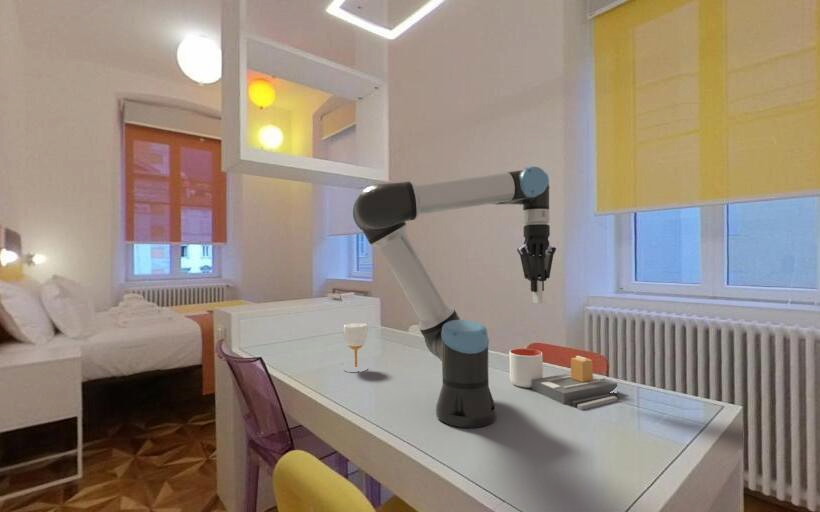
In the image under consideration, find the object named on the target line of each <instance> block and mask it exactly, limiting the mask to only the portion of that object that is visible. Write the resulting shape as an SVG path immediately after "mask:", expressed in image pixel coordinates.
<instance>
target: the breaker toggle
mask: <svg viewBox="0 0 820 512" xmlns="http://www.w3.org/2000/svg"><path fill="white" fill-rule="evenodd" d="M593 369H594V368H593V360H592V359H590V358H587V357H584V356H581V355H576V356H575V357H571V358H570V373H571V378H572V379H575V380H578V381H580V382H587V381H592V380H593V373H594V371H593Z"/></svg>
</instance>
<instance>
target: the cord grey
mask: <svg viewBox="0 0 820 512" xmlns="http://www.w3.org/2000/svg"><path fill="white" fill-rule="evenodd" d="M615 402H618V398H617V397H615V396H611V397H606V398H602V399H598V400H594V401H590V402H586V403H582V404H578V405H577V407H576V408H577V409H578V410H579V411H583V410H586V409H591V408H594V407H598V406H602V405H607V404H611V403H615Z"/></svg>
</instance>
